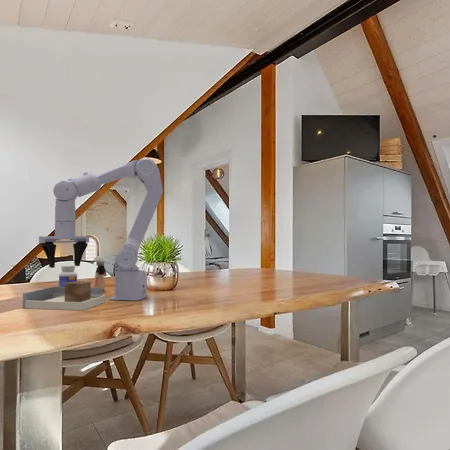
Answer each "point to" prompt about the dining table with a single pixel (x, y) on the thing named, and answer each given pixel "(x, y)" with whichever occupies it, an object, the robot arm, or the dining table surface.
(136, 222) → the robot arm
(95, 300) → the board
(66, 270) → the pill bottle
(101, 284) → the grandmother figurine
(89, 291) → the walnut block
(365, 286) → the dining table surface
